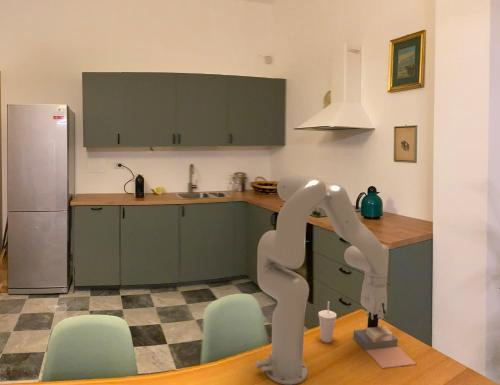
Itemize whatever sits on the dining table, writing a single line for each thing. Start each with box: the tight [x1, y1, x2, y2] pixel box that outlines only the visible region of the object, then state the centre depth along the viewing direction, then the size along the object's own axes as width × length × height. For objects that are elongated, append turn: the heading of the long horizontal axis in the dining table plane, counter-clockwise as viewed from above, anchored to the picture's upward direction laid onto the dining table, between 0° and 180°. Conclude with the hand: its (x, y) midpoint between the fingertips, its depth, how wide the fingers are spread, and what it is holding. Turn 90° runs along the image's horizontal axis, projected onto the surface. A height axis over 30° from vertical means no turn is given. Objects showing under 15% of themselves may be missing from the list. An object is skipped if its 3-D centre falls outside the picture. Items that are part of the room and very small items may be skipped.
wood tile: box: [365, 325, 393, 342], centre depth 135 cm, size 7×5×2 cm
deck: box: [352, 328, 399, 351], centre depth 137 cm, size 12×8×3 cm
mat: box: [364, 345, 417, 370], centre depth 128 cm, size 12×10×1 cm
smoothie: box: [317, 301, 338, 343], centre depth 138 cm, size 6×6×14 cm
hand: (372, 328), depth 139 cm, fingers closed
